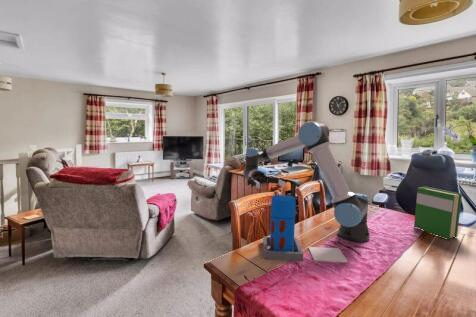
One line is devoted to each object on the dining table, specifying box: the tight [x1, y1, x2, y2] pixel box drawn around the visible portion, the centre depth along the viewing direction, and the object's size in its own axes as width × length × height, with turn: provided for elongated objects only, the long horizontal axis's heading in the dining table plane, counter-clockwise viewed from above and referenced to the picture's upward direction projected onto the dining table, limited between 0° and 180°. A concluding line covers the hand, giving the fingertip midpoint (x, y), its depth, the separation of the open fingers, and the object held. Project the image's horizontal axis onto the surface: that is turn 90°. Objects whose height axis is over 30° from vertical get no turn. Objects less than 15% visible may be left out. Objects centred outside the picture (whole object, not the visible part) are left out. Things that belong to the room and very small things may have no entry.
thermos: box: [269, 194, 297, 252], centre depth 118 cm, size 11×11×25 cm
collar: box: [262, 236, 304, 262], centre depth 119 cm, size 16×16×3 cm
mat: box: [308, 246, 349, 264], centre depth 116 cm, size 14×12×1 cm
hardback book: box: [413, 186, 463, 239], centre depth 142 cm, size 18×7×24 cm, turn 24°
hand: (272, 185), depth 126 cm, fingers open, 13 cm apart
